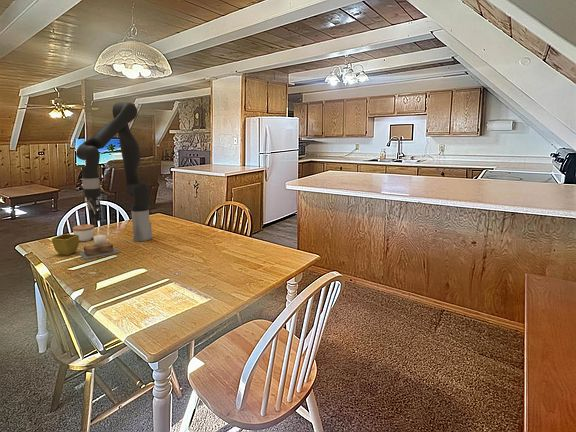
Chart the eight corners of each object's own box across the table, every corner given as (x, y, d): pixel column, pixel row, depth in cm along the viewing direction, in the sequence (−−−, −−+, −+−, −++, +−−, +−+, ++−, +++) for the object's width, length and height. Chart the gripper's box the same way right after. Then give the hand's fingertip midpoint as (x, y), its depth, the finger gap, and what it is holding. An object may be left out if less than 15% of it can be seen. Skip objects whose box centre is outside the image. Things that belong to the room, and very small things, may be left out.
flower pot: (68, 257, 182) (65, 239, 180) (53, 255, 184) (50, 238, 182) (81, 251, 190) (79, 234, 188) (66, 250, 192) (64, 233, 190)
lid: (109, 248, 194) (108, 242, 193) (113, 251, 190) (112, 244, 189) (84, 253, 186) (83, 246, 185) (87, 256, 182) (86, 249, 181)
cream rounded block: (105, 244, 203) (103, 233, 201) (108, 246, 198) (107, 236, 197) (93, 246, 199) (92, 235, 197) (96, 249, 194) (95, 238, 193)
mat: (111, 247, 198) (111, 246, 198) (119, 252, 189) (119, 252, 189) (78, 253, 187) (78, 252, 187) (85, 259, 178) (84, 258, 178)
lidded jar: (89, 236, 218) (87, 220, 215) (99, 239, 211) (97, 223, 209) (70, 240, 209) (68, 224, 207) (79, 243, 203) (77, 227, 201)
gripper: (104, 188, 178) (107, 220, 181) (95, 184, 188) (99, 215, 192) (87, 189, 173) (91, 223, 176) (79, 186, 183) (83, 217, 187)
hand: (95, 219), depth 184 cm, fingers open, 8 cm apart
